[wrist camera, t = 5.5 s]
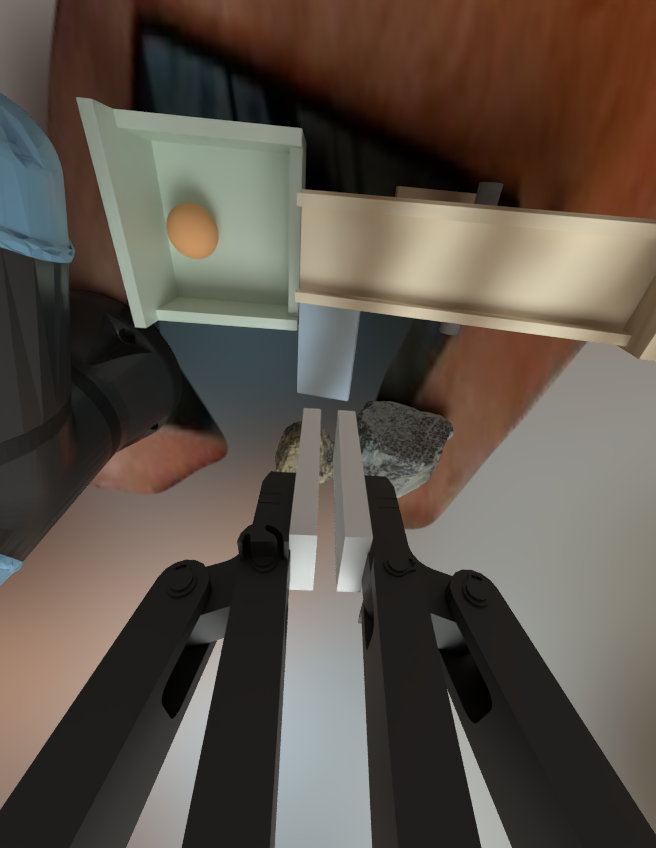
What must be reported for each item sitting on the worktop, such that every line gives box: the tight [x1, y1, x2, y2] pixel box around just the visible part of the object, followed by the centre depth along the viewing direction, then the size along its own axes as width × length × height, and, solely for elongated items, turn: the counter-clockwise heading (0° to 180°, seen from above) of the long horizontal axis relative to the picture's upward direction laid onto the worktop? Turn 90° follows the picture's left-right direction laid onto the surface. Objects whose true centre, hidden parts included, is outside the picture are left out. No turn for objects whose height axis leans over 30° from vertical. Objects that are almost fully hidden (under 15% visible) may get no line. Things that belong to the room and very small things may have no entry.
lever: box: [295, 182, 656, 401], centre depth 20 cm, size 20×14×4 cm
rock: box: [275, 422, 335, 484], centre depth 37 cm, size 7×8×4 cm
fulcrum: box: [395, 186, 476, 204], centre depth 24 cm, size 14×8×8 cm, turn 86°
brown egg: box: [166, 203, 219, 259], centre depth 24 cm, size 4×4×4 cm
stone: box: [356, 401, 453, 498], centre depth 34 cm, size 10×10×10 cm
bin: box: [76, 97, 307, 331], centre depth 23 cm, size 12×12×7 cm
